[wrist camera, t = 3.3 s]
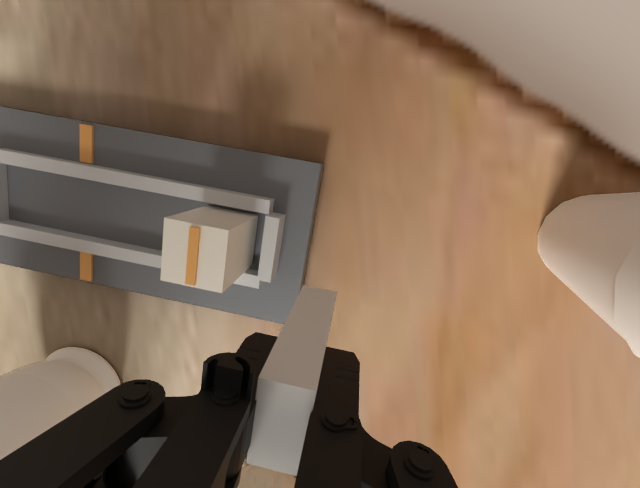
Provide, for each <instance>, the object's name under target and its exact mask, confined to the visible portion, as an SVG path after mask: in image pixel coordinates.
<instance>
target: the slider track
mask: <svg viewBox="0 0 640 488" xmlns="http://www.w3.org/2000/svg"><path fill="white" fill-rule="evenodd" d="M79 124H85V125H90V126H94V164H91V163H86V162H80V127H79ZM323 166H324V164H322V163H317V162H311V161H305V160H300V159H294V158H289V157H283V156H277V155H272V154H266V153H261V152H255V151H249V150H244V149H238V148H233V147H227V146H221V145H216V144H210V143H205V142H199V141H193V140H188V139H182V138H177V137H171V136H165V135H160V134H154V133H149V132H143V131H137V130H132V129H126V128H120V127H115V126H109V125H104V124H98V123H92V122H87V121H81V120H76V119H70V118H64V117H59V116H53V115H48V114H42V113H36V112H31V111H25V110H20V109H14V108H8V107H3V106H0V263H2V264H7V265H11V266H16V267H20V268H25V269H30V270H34V271H39V272H44V273H48V274H53V275H58V276H62V277H67V278H72V279H76V280H81V279H80V252H85V253H89V254H93V281H91V282H90V281H86V280H81V281H86V282H90V283H95V284H100V285H104V286H109V287H113V288H118V289H123V290H127V291H132V292H137V293H141V294H146V295H151V296H155V297H160V298H165V299H169V300H174V301H179V302H183V303H188V304H192V305H197V306H202V307H206V308H211V309H216V310H220V311H225V312H230V313H234V314H239V315H244V316H248V317H253V318H258V319H262V320H267V321H272V322H276V323H281V324H284V323H285V321H286V319H287V317H288V315H289V313H290V311H291V309H292V307H293V305H294V303H295V301H296V299H297V297H298V295H299V293H300V290H301V288H302V286H303V284H304V279H305V273H306V267H307V261H308V255H309V249H310V243H311V237H312V231H313V225H314V220H315V214H316V208H317V202H318V196H319V190H320V184H321V178H322V172H323ZM207 205H208V206H213V207H219V208H224V209H229V210H234V211H239V212H245V213H250V214H255V215H258V223H257V231H256V239H255V246H254V254H253V262H252V266H251V267H250V268H248V269H247V270H246V271H245V272H244V273H243V274H242V275H241V276H240V277H239V278H238V279H237V280H236V281H235V282H234V283H232V284H231V285H230V286H229V287H228V288H227V289H226V290H225V291H224V292H223V293H218V292H213V291H209V290H204V289H199V288H194V287H190V286H185V285H180V284H176V283H171V282H166V281H161V280H160V277H161V260H162V243H163V226H164V217H168V216H172V215H175V214H179V213H182V212H186V211H189V210H193V209H197V208H200V207H204V206H207Z"/></svg>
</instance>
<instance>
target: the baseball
mask: <svg viewBox="0 0 640 488" xmlns="http://www.w3.org/2000/svg"><path fill="white" fill-rule="evenodd" d="M295 481H296V480H295V478H294V476H293V475H290V474H286V473H282V472H278V471H274V470H270V469H266V468H262V467H259V466H255V465H251V464H249V465H247V466H245V467H244V468H242V469H241V476H240V482H239V485H238V487H237V488H294V485H295Z"/></svg>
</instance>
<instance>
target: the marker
mask: <svg viewBox="0 0 640 488" xmlns="http://www.w3.org/2000/svg"><path fill="white" fill-rule="evenodd" d="M79 127H80V162H86V163H91V164H94V126H90V125H85V124H79ZM80 279H81V280H86V281H90V282H91V281H93V254H89V253H85V252H80Z"/></svg>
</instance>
